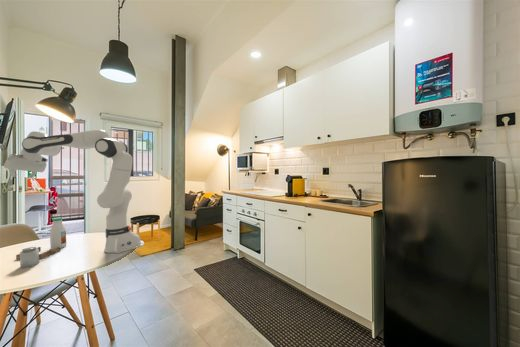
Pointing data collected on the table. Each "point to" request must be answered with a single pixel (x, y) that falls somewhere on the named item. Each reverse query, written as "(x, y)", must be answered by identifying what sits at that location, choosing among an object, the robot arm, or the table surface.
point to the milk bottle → (57, 234)
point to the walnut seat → (43, 253)
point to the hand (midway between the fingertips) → (21, 177)
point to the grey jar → (29, 257)
